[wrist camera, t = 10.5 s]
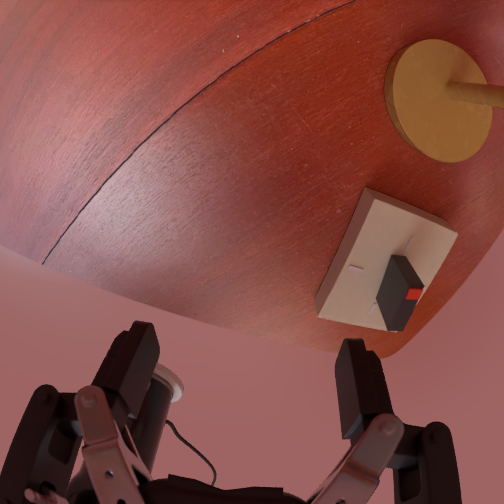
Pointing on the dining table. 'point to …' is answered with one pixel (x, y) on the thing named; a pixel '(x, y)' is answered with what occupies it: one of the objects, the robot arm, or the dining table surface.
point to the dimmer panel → (380, 256)
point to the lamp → (440, 100)
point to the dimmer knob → (398, 293)
